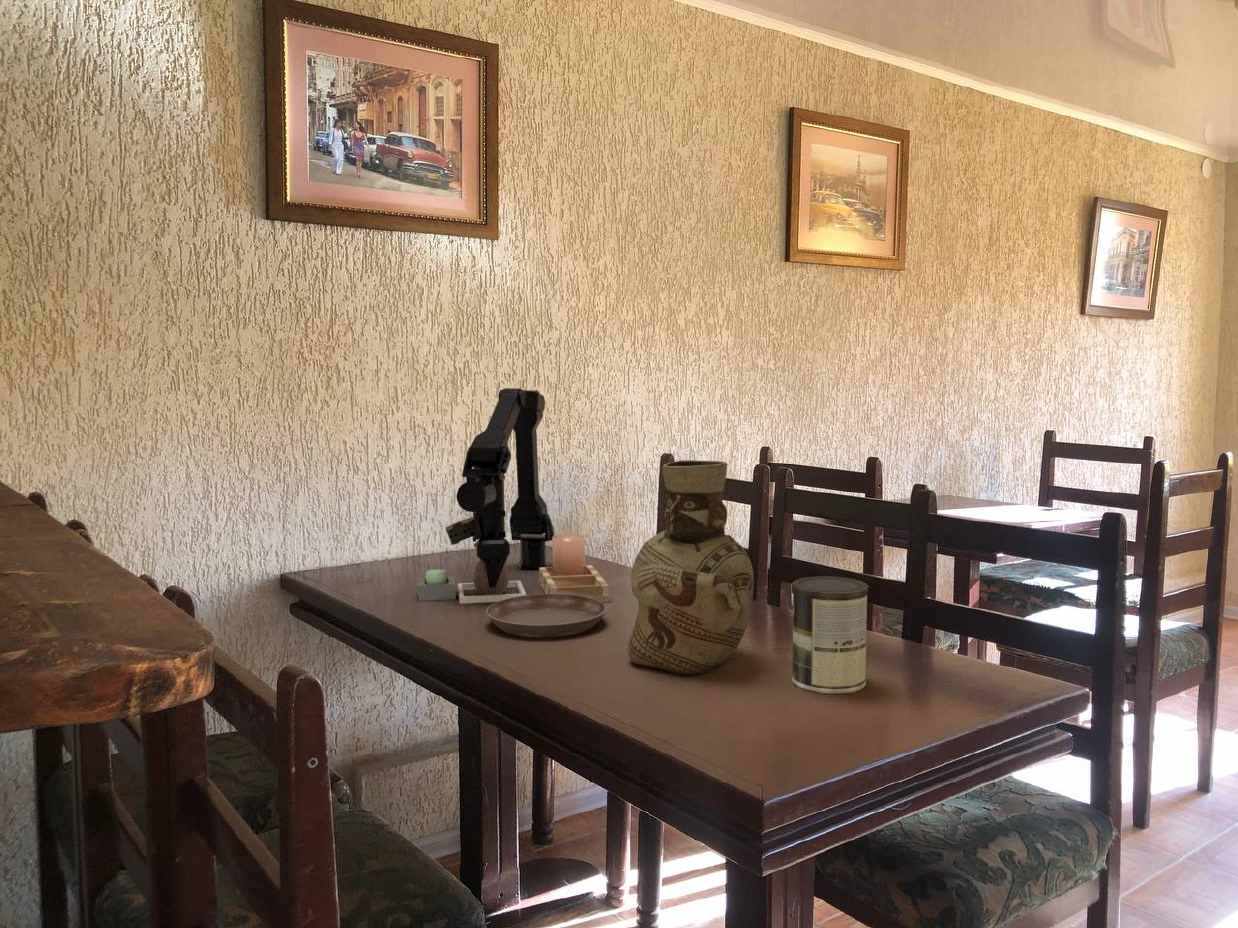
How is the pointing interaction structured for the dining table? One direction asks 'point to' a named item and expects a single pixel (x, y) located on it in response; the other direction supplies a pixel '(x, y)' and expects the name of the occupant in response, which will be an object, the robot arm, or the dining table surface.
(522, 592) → the white square frame
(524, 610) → the plant saucer
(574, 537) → the block
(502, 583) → the vase
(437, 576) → the button
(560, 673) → the dining table surface
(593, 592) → the pallet
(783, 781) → the dining table surface
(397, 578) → the dining table surface
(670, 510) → the ceramic vessel
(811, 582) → the coffee can
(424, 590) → the button housing
